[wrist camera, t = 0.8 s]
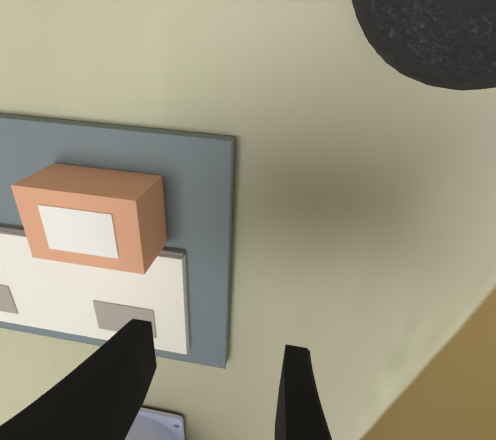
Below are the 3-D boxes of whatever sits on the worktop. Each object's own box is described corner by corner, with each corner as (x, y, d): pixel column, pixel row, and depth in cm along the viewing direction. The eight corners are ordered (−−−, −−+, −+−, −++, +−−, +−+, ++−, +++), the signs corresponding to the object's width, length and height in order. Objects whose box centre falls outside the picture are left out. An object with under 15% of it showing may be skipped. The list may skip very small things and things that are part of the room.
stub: (167, 242, 20) (143, 275, 17) (68, 228, 20) (31, 258, 18) (162, 175, 18) (134, 201, 15) (53, 162, 18) (9, 186, 16)
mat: (227, 359, 25) (225, 368, 24) (-101, 300, 28) (-111, 307, 27) (234, 136, 17) (231, 140, 16) (-220, 91, 20) (-239, 93, 20)
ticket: (189, 347, 24) (186, 355, 23) (-45, 305, 26) (-54, 312, 25) (185, 249, 20) (181, 256, 19) (-90, 210, 22) (-102, 215, 21)
